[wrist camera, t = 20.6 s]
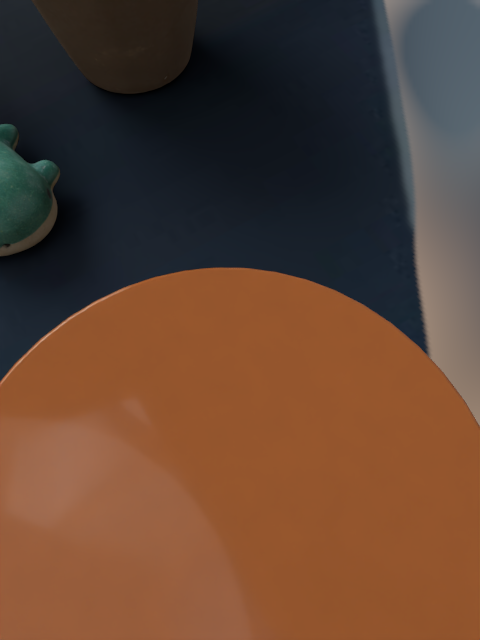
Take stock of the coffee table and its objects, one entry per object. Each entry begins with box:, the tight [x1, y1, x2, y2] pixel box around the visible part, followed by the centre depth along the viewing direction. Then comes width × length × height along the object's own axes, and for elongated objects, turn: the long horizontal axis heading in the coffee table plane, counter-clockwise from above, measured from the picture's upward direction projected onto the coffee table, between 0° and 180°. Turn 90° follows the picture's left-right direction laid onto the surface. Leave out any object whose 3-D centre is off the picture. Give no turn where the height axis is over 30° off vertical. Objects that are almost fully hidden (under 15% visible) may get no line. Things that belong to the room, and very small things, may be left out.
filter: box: [0, 268, 480, 640], centre depth 9 cm, size 9×9×10 cm
